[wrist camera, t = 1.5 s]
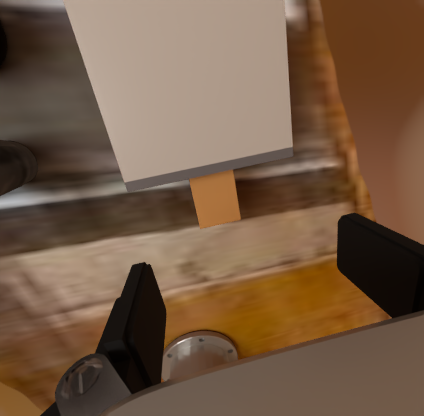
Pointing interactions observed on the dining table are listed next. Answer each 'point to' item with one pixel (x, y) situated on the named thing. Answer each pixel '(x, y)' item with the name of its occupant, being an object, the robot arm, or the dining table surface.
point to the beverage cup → (15, 166)
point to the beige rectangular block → (187, 83)
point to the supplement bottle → (2, 44)
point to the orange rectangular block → (215, 198)
